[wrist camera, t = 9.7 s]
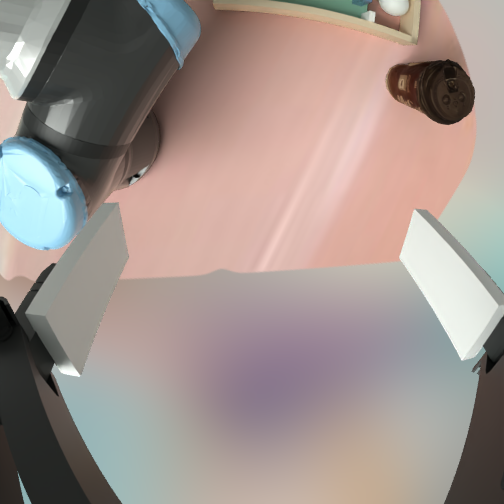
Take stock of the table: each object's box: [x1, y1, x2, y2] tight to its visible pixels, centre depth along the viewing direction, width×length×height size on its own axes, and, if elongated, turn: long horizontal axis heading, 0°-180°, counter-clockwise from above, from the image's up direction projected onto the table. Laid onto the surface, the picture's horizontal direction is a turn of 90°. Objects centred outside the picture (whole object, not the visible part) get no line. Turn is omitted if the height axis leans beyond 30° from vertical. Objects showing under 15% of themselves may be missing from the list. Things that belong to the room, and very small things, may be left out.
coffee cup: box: [386, 59, 475, 125], centre depth 30 cm, size 9×8×13 cm
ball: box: [379, 0, 409, 16], centre depth 27 cm, size 4×4×4 cm
